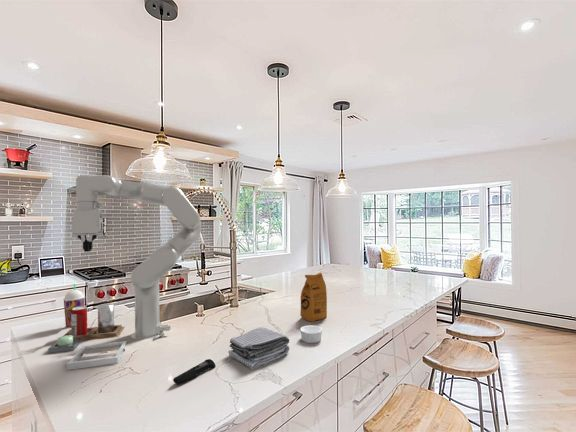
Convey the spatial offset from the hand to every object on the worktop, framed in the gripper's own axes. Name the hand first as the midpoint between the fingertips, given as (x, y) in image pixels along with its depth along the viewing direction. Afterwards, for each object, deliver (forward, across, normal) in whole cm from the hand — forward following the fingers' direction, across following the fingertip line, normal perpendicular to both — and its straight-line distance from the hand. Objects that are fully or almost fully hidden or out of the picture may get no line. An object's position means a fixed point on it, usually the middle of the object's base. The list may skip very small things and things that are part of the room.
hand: (87, 251), depth 126 cm
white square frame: (+37, -8, +16) cm, 41 cm away
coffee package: (+37, -98, 0) cm, 105 cm away
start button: (+36, +6, +6) cm, 37 cm away
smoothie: (+37, +12, -23) cm, 45 cm away
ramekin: (+37, -87, +25) cm, 98 cm away
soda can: (+36, +5, -6) cm, 37 cm away
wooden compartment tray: (+37, 0, -6) cm, 38 cm away
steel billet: (+36, -5, -6) cm, 37 cm away
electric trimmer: (+38, -41, +40) cm, 69 cm away
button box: (+37, +6, +6) cm, 38 cm away
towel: (+38, -64, +32) cm, 81 cm away
